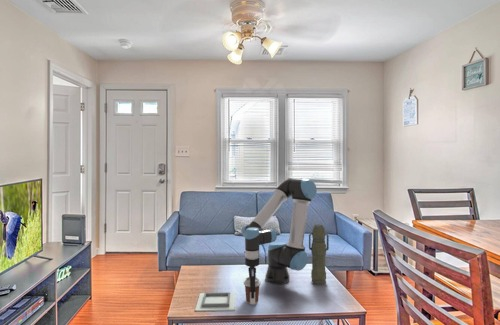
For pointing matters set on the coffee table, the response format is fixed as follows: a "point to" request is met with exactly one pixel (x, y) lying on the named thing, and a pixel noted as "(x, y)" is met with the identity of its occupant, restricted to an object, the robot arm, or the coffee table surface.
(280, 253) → the robot arm
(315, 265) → the thermos
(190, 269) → the coffee table surface
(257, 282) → the coffee cup
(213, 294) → the square seat
